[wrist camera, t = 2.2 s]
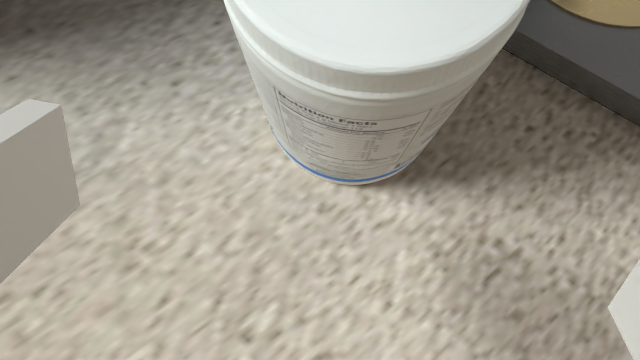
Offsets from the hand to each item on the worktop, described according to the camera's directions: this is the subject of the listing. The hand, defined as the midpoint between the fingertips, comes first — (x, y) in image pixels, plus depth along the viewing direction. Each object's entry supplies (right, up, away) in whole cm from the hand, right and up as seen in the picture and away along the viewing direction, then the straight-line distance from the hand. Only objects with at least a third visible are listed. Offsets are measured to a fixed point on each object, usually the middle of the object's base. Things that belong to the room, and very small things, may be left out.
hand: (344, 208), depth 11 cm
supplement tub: (+1, +5, +16) cm, 17 cm away
